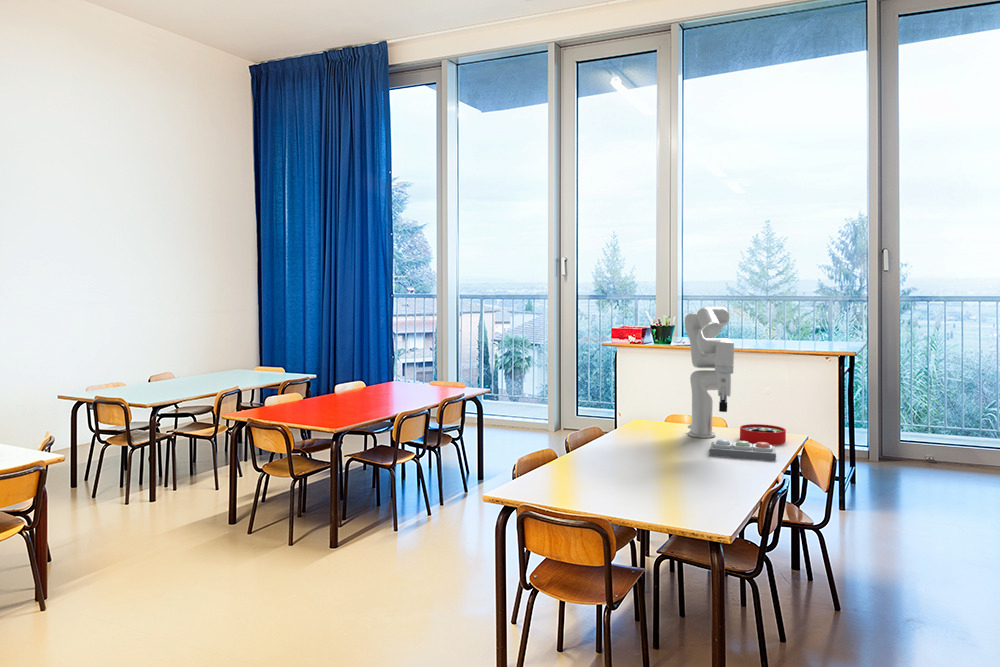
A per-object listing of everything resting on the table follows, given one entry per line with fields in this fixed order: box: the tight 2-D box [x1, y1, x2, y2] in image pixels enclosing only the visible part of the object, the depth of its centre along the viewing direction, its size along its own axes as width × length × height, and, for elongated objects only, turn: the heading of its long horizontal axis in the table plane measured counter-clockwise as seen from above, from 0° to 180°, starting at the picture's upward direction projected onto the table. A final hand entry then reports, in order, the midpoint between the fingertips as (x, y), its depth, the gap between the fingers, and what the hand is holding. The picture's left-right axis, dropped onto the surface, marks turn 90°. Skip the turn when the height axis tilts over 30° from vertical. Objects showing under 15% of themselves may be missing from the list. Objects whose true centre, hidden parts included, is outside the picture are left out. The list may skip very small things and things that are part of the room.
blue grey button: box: [716, 438, 730, 445], centre depth 293 cm, size 5×5×2 cm
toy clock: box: [739, 423, 787, 446], centre depth 317 cm, size 20×6×20 cm
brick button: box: [756, 442, 769, 448], centre depth 287 cm, size 5×5×2 cm
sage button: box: [736, 440, 749, 447], centre depth 290 cm, size 5×5×2 cm
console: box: [709, 440, 777, 462], centre depth 290 cm, size 26×14×4 cm, turn 69°
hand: (723, 411), depth 293 cm, fingers closed
